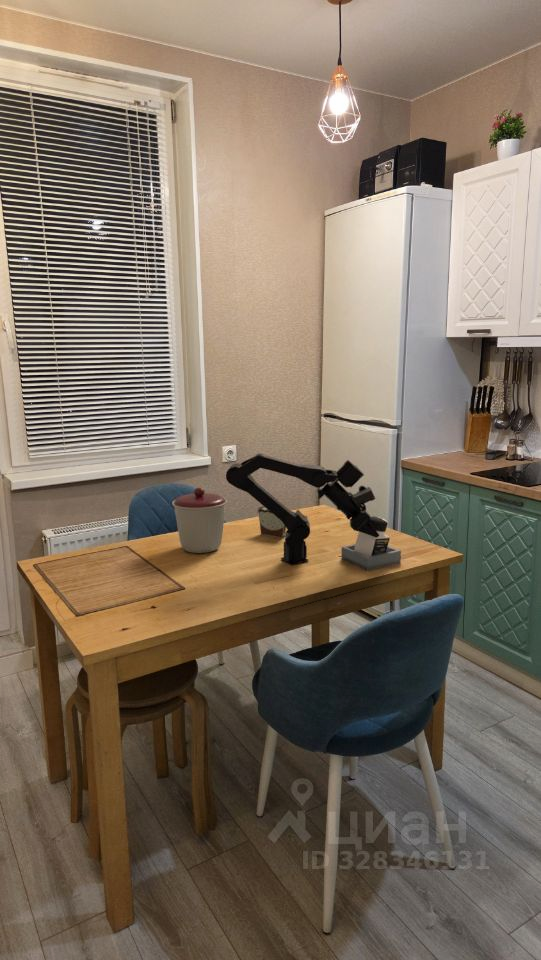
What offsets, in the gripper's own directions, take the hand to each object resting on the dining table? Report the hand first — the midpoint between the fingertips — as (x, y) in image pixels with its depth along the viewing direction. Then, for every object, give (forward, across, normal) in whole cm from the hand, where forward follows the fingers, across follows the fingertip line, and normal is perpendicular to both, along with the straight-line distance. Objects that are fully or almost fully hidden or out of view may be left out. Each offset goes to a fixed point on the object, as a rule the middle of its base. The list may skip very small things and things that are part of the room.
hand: (376, 532), depth 192 cm
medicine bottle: (+4, 0, +7) cm, 8 cm away
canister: (-34, +12, +47) cm, 59 cm away
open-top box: (+6, 0, +8) cm, 10 cm away
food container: (-16, +29, +30) cm, 44 cm away
